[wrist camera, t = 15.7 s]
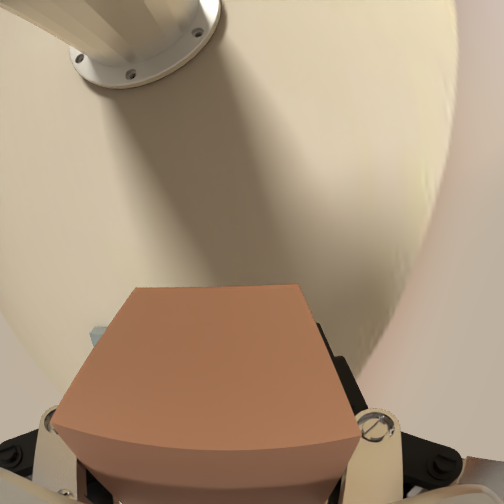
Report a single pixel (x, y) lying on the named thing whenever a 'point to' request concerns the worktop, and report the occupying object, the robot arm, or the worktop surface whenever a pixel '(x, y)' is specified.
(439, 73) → the worktop surface
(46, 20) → the robot arm
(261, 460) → the terracotta block
